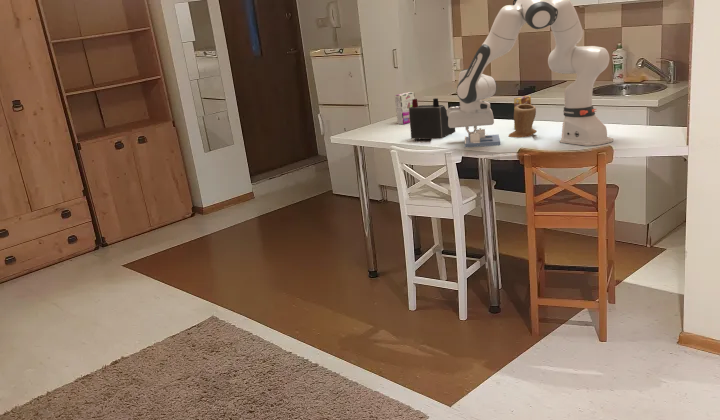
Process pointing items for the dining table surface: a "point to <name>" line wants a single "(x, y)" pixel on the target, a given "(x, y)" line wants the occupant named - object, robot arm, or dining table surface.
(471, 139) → the tab
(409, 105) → the candy bar box
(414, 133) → the voltmeter
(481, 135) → the tab
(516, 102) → the candy box
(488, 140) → the switch bank
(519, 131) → the brown hollow flared piece
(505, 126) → the dining table surface
